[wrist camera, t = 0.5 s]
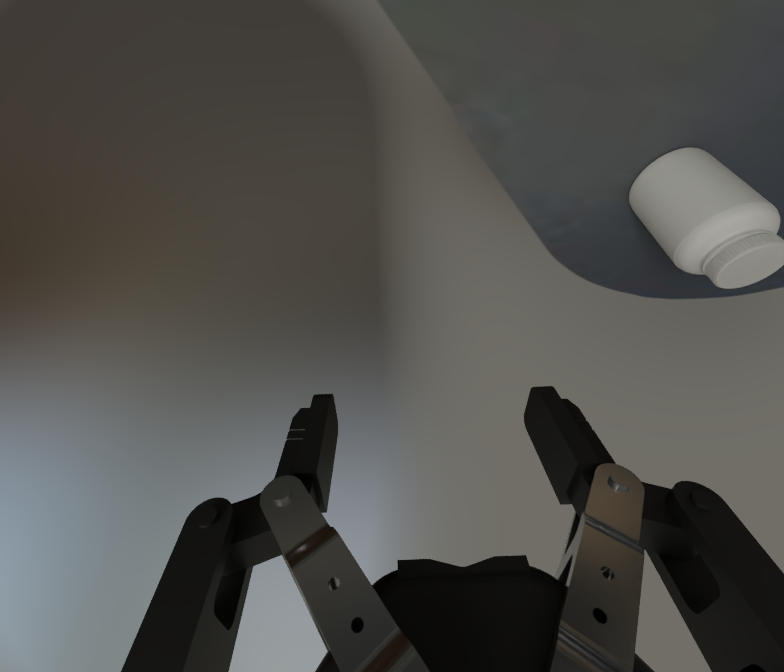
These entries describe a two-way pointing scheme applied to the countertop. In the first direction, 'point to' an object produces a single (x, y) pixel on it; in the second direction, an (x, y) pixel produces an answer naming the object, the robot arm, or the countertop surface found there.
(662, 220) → the pill bottle
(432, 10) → the countertop surface
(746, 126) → the countertop surface
